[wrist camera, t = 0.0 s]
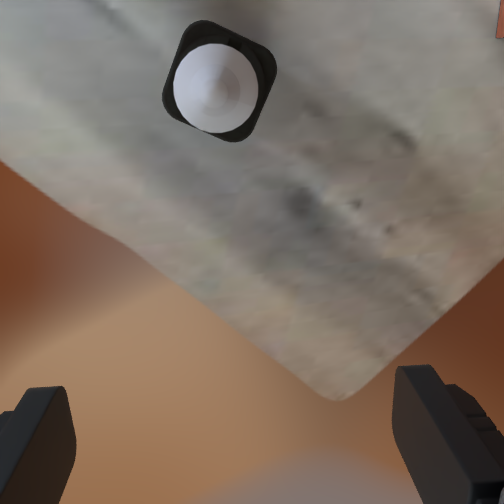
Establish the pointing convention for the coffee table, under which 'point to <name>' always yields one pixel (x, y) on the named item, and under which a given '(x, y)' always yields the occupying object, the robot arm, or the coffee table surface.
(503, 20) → the peg stand
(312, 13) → the coffee table surface
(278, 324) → the coffee table surface
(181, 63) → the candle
